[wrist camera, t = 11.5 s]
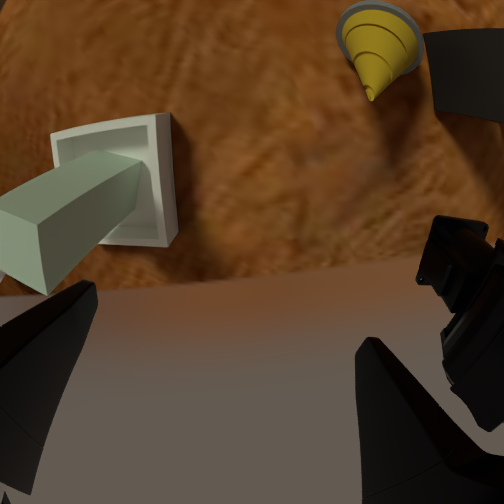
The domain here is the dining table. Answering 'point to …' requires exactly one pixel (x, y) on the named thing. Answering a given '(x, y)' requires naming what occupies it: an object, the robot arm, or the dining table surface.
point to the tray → (151, 174)
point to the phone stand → (467, 71)
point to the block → (64, 216)
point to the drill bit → (379, 43)
